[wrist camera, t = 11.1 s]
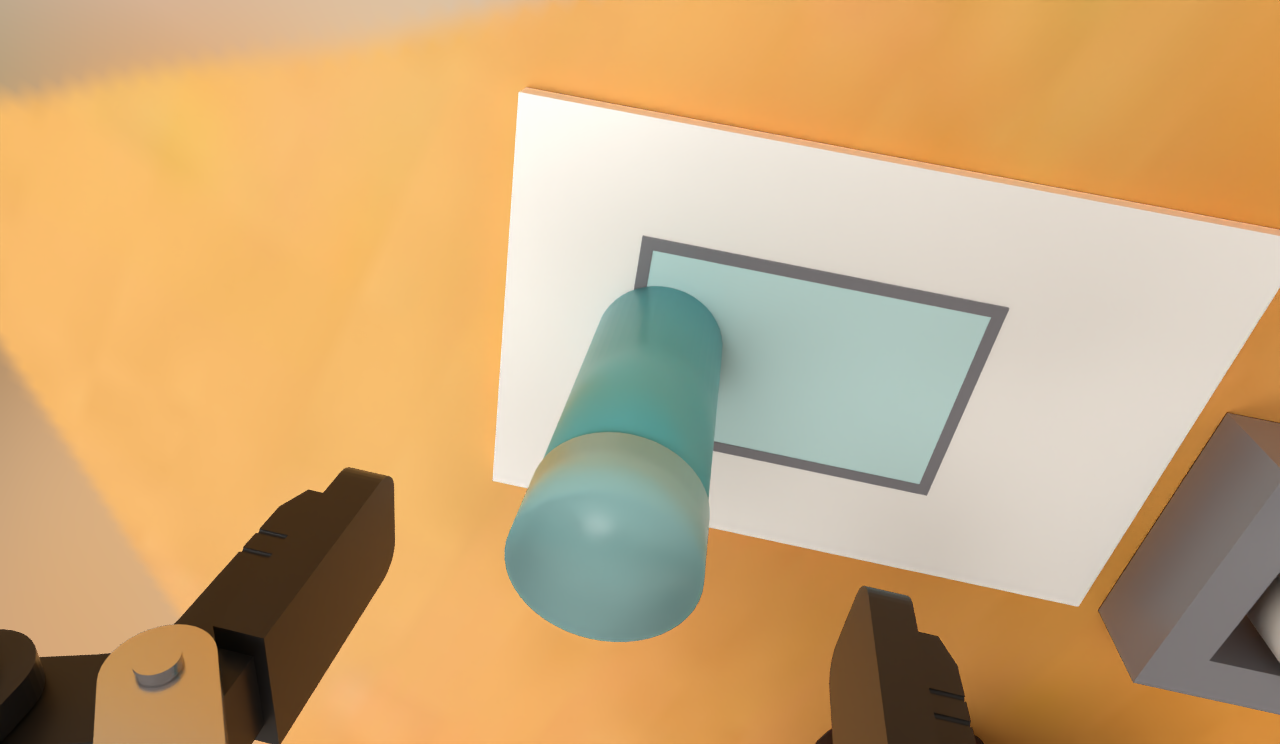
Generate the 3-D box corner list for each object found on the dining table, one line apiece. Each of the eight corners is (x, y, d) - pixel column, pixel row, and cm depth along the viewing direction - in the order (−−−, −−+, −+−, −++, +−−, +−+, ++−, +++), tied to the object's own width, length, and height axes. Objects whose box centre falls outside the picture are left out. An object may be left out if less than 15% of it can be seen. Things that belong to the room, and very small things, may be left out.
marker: (737, 299, 19) (723, 515, 12) (710, 412, 20) (683, 659, 13) (603, 272, 19) (512, 470, 12) (587, 386, 20) (498, 618, 14)
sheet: (1292, 231, 17) (1310, 242, 16) (1071, 591, 22) (1079, 608, 22) (526, 86, 17) (518, 92, 17) (498, 468, 23) (492, 481, 23)
